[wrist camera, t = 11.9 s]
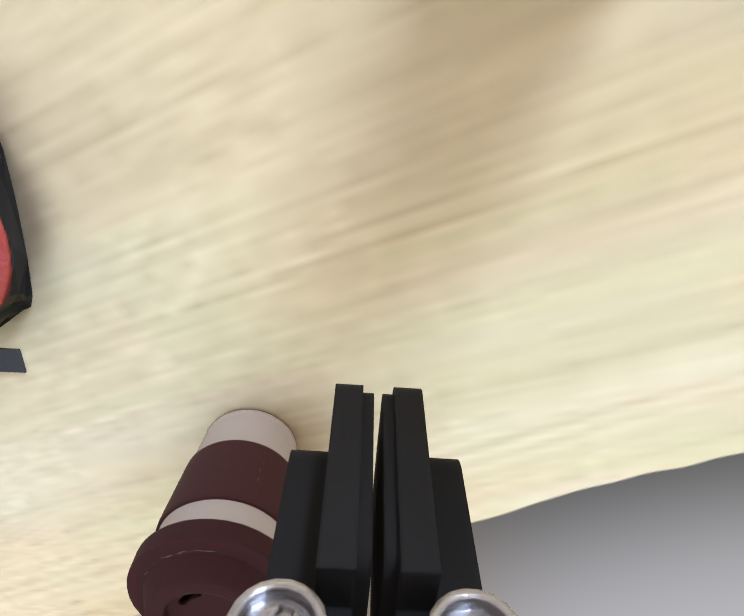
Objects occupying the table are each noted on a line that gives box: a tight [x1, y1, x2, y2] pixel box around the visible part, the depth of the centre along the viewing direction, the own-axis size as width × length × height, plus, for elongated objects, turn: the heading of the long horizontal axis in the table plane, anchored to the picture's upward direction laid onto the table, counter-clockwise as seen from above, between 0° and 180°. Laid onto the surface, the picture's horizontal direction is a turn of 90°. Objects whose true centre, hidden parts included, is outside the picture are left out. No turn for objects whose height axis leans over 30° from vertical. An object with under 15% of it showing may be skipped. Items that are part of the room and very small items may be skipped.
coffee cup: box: [127, 410, 297, 616], centre depth 39 cm, size 10×10×15 cm
